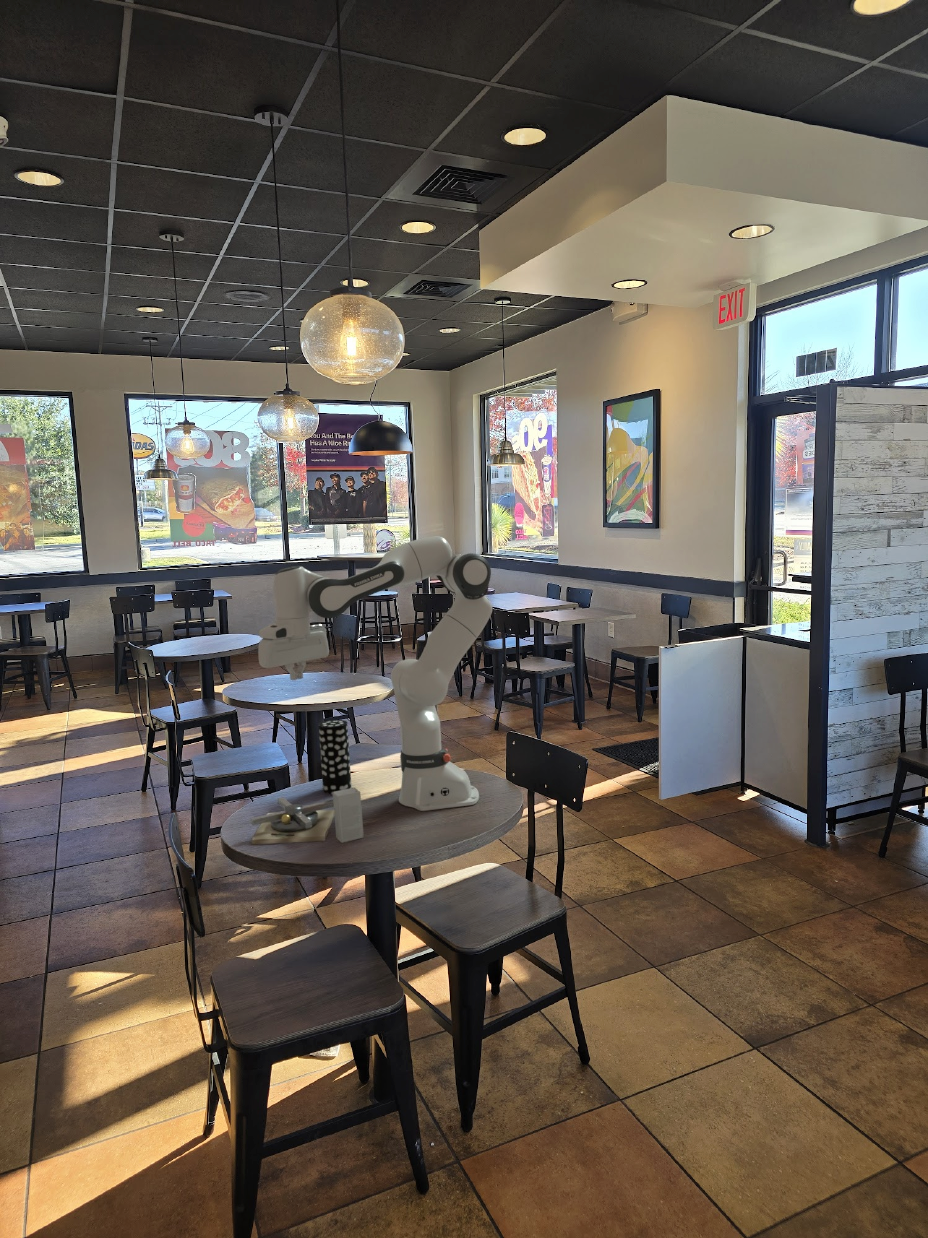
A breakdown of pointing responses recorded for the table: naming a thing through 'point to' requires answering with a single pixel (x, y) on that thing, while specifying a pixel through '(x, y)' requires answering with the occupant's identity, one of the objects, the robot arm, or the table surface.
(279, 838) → the beige base plate
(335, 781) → the spotted tube
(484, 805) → the table surface
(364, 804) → the table surface
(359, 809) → the skincare box
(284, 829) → the capstan
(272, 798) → the table surface
